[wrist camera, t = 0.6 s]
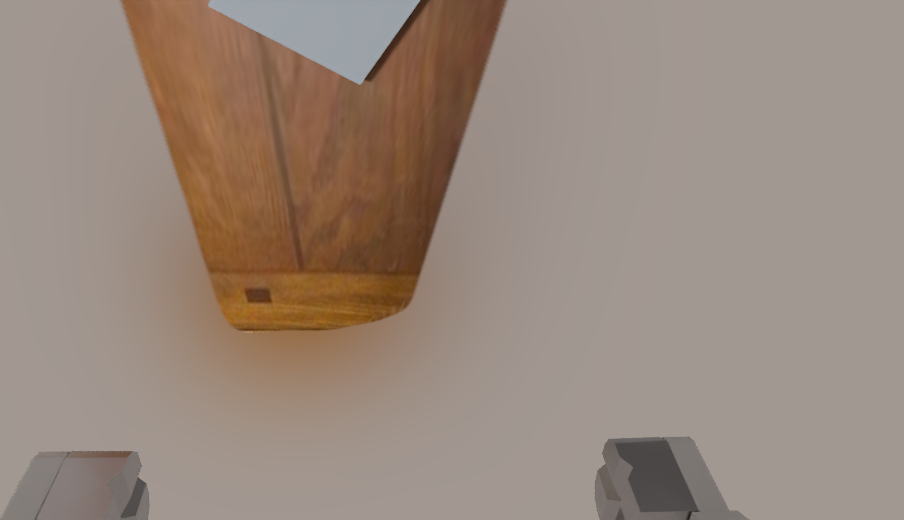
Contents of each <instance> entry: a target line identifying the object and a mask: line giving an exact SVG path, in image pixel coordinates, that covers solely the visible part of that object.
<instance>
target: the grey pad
mask: <svg viewBox="0 0 904 520" xmlns="http://www.w3.org/2000/svg"><path fill="white" fill-rule="evenodd" d="M419 1H420V0H209V4H208V6H209V7H211V8H213V9H214V10H216V11H218V12H220V13H222V14H224V15H226V16H228V17H230V18H232V19H234V20H236V21H238V22H240V23H241V24H243V25H245V26H247V27H249V28H251V29H253V30H255V31H257V32H259V33H261V34H263V35H265V36H267V37H268V38H270V39H272V40H274V41H276V42H278V43H280V44H282V45H284V46H286V47H288V48H290V49H292V50H294V51H295V52H297V53H299V54H301V55H303V56H305V57H307V58H309V59H311V60H313V61H315V62H317V63H319V64H321V65H322V66H324V67H326V68H328V69H330V70H332V71H334V72H336V73H338V74H340V75H342V76H344V77H346V78H348V79H349V80H351V81H353V82H355V83H357V84H359V85H360V84H361V83H362V82H363V80H364V79H365V77H366V76H367V75H368V73H369V72H370V70H371V69H372V68H373V66H374V65H375V63H376V62H377V61H378V59H379V58H380V56H381V55H382V54H383V52H384V51H385V49H386V48H387V46H388V45H389V44H390V42H391V41H392V39H393V38H394V37H395V35H396V34H397V32H398V31H399V30H400V28H401V27H402V25H403V24H404V23H405V21H406V20H407V18H408V17H409V16H410V14H411V13H412V11H413V10H414V9H415V7H416V6H417V4H418V3H419Z"/></svg>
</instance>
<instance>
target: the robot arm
mask: <svg viewBox="0 0 904 520" xmlns="http://www.w3.org/2000/svg"><path fill="white" fill-rule="evenodd" d="M602 454H603V457H604V460H605V463H606V464H605V465H603V466H602V467H601V468H600V469H599V470H598V471H597V476H596V480H595V501H596V507H597V511H598V515H599V518H600V520H749V519H747V518H746V517H745V516H744V515H742V514H741V513H740V512H738V511H729V509H728V507H727V505H726V503H725V501H724V499H723V497H722V495H721V493H720V491H719V489H718V487H717V486H716V483H715V481H714V480H713V478H712V475H711V474H710V471H709V469H708V468H707V466H706V464H705V462H704V460H703V458H702V456H701V454H700V452H699V450H698V448H697V446H696V444H695V442H694V441H693V440H692V439H691V438H690V437H662V438H660V437H649V438H622V439H608V441H607V442H606V443H605V446H604V449H603V453H602ZM141 466H142V465H141V462H140V459H139V456H138V453H137V452H133V451H72V452H39V453H38V454H37V455H36V456H35V457H34V458H33V459H32V460H31V461H30V463H29V465H28V467H27V469H26V471H25V473H24V475H23V477H22V479H21V480H20V482H19V484H18V486H17V488H16V490H15V492H14V494H13V496H12V498H11V499H10V501H9V503H8V505H7V507H6V509H5V511H4V513H3V515H2V516H1V519H0V520H148V513H149V493H148V488H147V484H146V483H145V482H144V481H142V480H141V479H139V478H138V475H139V472H140V469H141Z"/></svg>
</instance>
